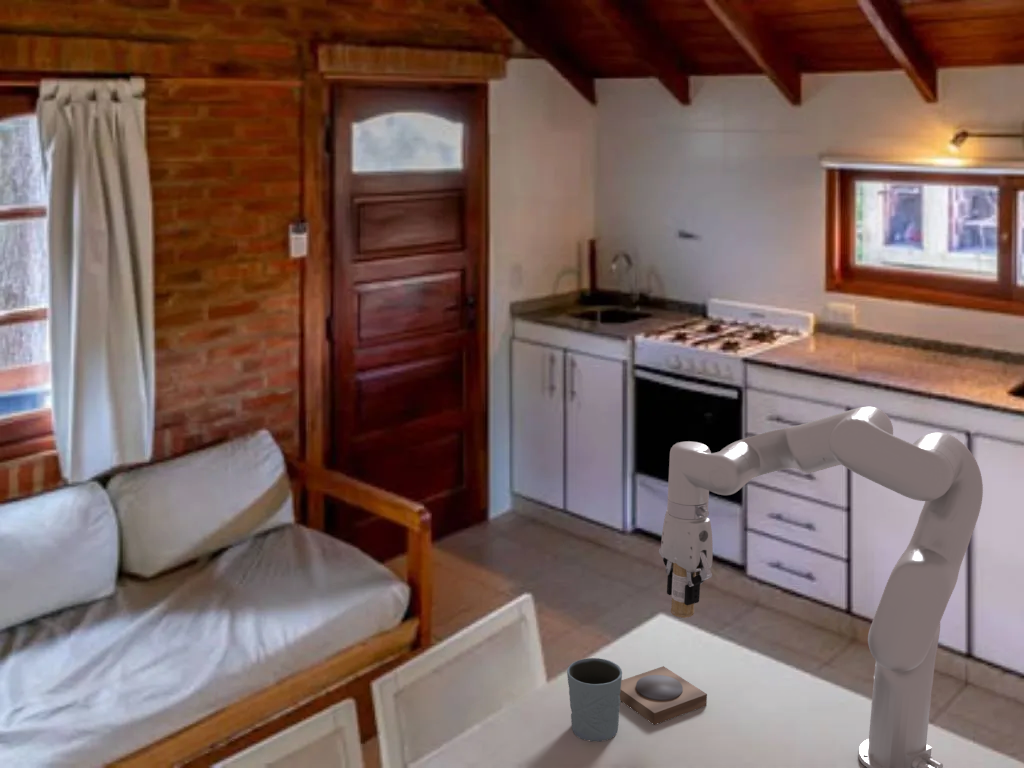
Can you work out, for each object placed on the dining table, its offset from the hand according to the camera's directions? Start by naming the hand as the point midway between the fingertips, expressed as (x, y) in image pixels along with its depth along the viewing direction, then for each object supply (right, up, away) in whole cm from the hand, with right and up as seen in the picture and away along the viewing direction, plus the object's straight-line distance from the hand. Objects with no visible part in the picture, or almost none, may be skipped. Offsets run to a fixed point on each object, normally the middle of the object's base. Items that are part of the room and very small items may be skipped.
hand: (682, 597), depth 207 cm
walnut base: (-4, -21, +5) cm, 22 cm away
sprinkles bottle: (0, -3, +1) cm, 4 cm away
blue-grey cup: (-17, -24, -4) cm, 30 cm away
